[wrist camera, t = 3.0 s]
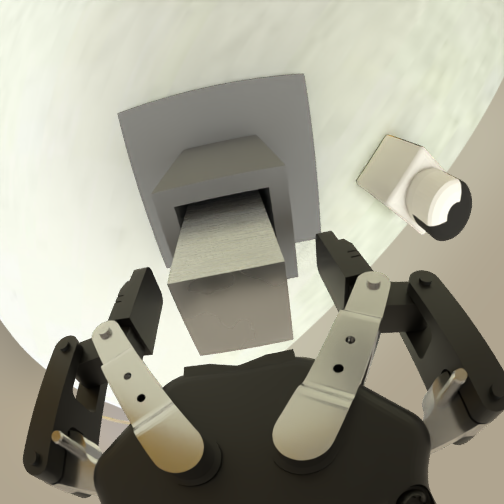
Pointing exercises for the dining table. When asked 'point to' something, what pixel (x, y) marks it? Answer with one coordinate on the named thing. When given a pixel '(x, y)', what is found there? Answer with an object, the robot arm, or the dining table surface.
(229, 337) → the steel column
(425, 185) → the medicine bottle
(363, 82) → the dining table surface
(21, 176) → the dining table surface
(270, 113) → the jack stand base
